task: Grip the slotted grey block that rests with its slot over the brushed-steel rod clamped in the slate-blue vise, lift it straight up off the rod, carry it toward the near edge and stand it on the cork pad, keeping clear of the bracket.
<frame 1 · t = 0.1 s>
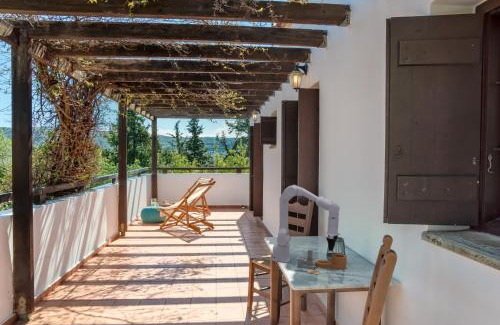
hand: (331, 249, 222), 10 cm above the table, tool pointing down, fingers open, 7 cm apart
vise: (306, 266, 220), on the table
slotted grey block: (309, 263, 219), point 2 cm above the table, touching vise
bracket: (329, 267, 223), on the table
pad: (313, 272, 210), on the table
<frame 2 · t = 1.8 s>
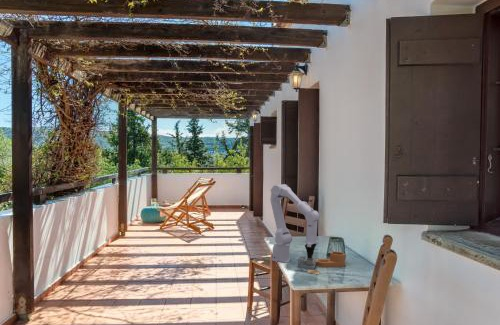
hand: (310, 257, 219), 5 cm above the table, tool pointing down, fingers closed on slotted grey block, 2 cm apart
slotted grey block: (309, 263, 219), point 2 cm above the table, touching gripper, vise
bracket: (329, 265, 226), on the table
when the fingers open (5 cm above the table, at t = 4.5 s): slotted grey block stays where it is, resting on pad.
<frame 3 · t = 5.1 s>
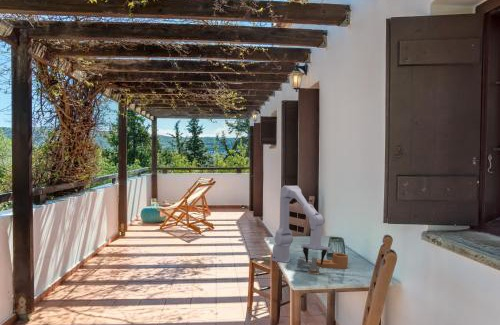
hand: (314, 263, 210), 5 cm above the table, tool pointing down, fingers open, 7 cm apart
slotted grey block: (313, 271, 210), resting on pad
bracket: (330, 267, 223), on the table
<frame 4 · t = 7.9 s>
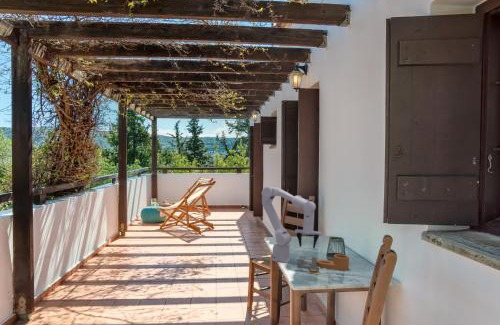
hand: (307, 247, 224), 10 cm above the table, tool pointing down, fingers open, 7 cm apart
bracket: (331, 268, 222), on the table
everything else where it was.
at the end: slotted grey block inside the target area on the pad (0.0 cm from its centre), point 0.4 cm above the pad's base; slotted grey block tilted 0°; the gripper is holding nothing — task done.
